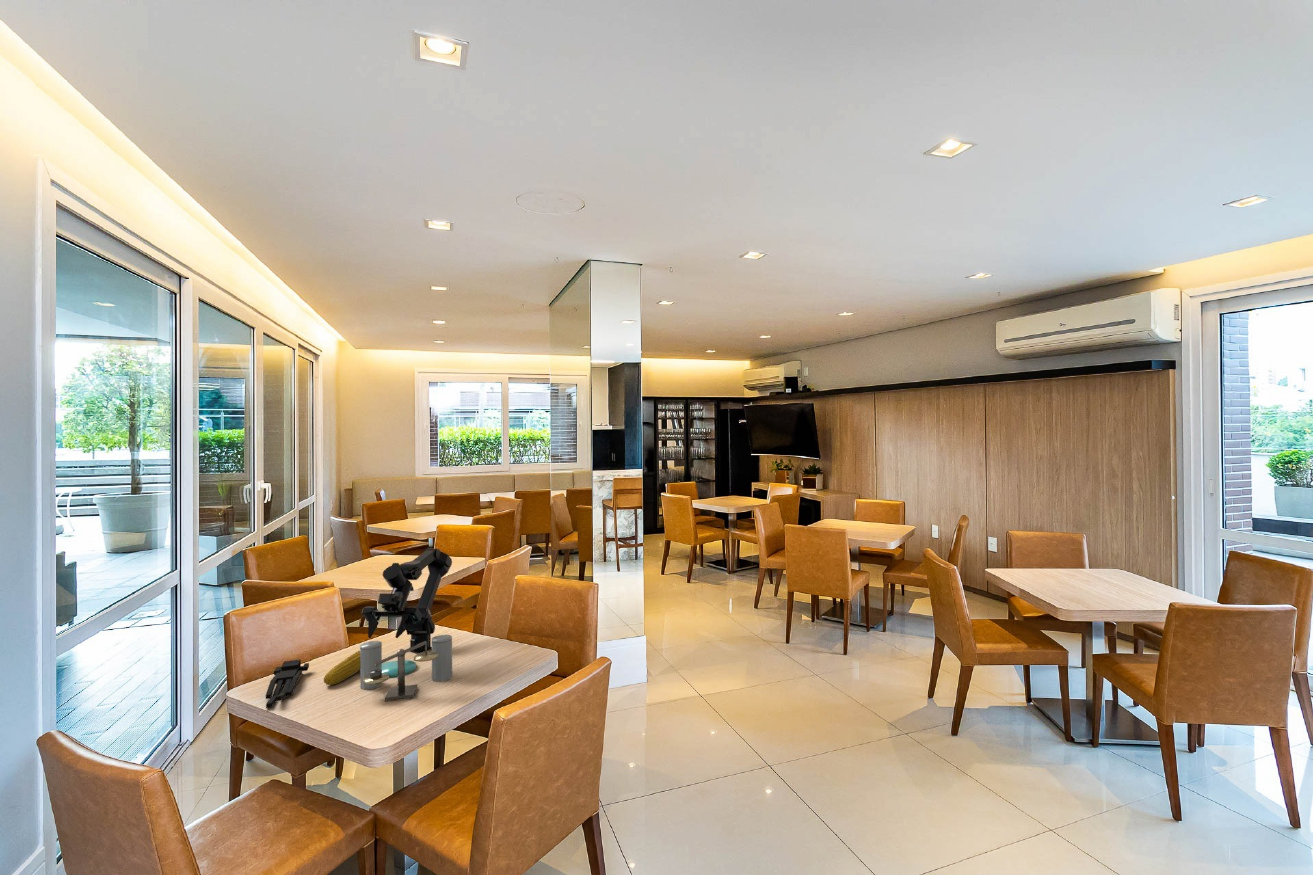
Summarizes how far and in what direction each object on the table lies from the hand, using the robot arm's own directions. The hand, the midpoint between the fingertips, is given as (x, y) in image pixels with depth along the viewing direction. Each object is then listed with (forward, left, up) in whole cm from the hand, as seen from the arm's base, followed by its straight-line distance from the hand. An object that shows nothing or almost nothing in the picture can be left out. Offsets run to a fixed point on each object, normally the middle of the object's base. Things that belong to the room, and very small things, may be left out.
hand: (382, 637), depth 194 cm
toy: (+22, -18, -13) cm, 31 cm away
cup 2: (-9, +18, -13) cm, 24 cm away
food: (+5, -12, -13) cm, 18 cm away
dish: (-6, -2, -13) cm, 14 cm away
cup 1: (+6, +3, -13) cm, 15 cm away
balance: (+6, +18, -13) cm, 23 cm away
